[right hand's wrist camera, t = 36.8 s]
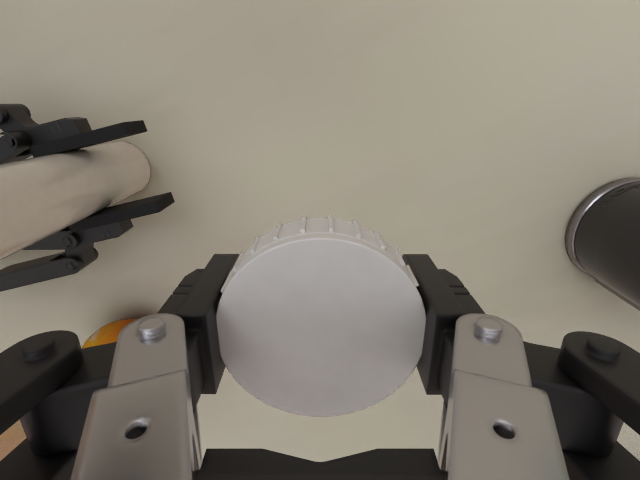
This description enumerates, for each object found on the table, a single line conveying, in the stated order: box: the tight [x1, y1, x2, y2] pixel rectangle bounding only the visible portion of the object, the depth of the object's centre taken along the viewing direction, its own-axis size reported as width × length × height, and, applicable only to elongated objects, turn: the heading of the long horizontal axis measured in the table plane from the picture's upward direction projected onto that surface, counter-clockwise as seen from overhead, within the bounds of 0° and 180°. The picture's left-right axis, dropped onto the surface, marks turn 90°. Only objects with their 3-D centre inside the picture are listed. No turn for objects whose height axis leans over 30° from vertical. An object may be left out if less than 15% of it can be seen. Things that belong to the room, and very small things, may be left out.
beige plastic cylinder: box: [0, 142, 151, 260], centre depth 24 cm, size 4×4×17 cm
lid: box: [216, 215, 426, 417], centre depth 10 cm, size 5×5×2 cm
